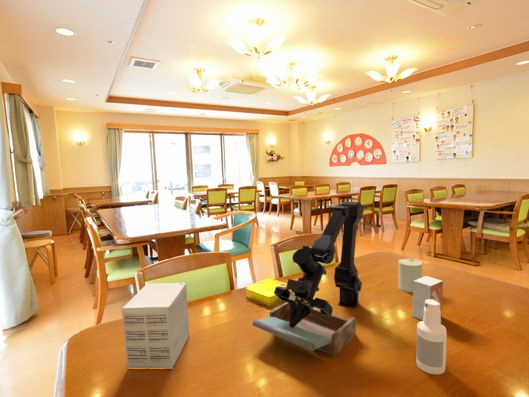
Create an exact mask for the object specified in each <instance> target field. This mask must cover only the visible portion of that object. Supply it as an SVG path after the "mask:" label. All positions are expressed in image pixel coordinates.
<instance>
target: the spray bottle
mask: <svg viewBox="0 0 529 397" xmlns="http://www.w3.org/2000/svg"><path fill="white" fill-rule="evenodd" d="M441 318H442V315H441V311H440V304H439V303H438V302H436V301H435V300H433V299H427V300H425V308H424V316H423V320H421V321H419V322H418V323H417V324H416V325H417V326H416V356H415V358H416V359H415V362H416V366H417V368H419V369H420V370H421V371H423V372H424V373H427V374H430V375H435V376H436V375H442V374H444V373H445V371H446V366H447V365H446V364H447V363H446V362H447V335H448V334H447V328H446V327H445V326H444V325H443V324H441V323H442V319H441Z"/></svg>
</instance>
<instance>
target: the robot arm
mask: <svg viewBox="0 0 529 397" xmlns="http://www.w3.org/2000/svg"><path fill="white" fill-rule="evenodd" d="M364 211H365V208H364V205H362V203H361V202H359V201H348V200H347V201H343V202H342V203H339V204H336V205H335V206H333V207H332V212H331V215H330V217H329V220H328V222H327V224H326V226H325V228H324V230H323V232H322V234H321V235H320V237H319V238H317V239H316V240H314V242H313V244H312V245H311V247H310V246H309V245H305V244H304V245H302V248H298V249H297V250H296V251H295V252H294V253H293V254H292V262H293V263H294V264H295V265H296V266H297V268H298V269H299V270H300V271H301V272H302V273H303V275H302V276H301V277H300V276H299V277H298V278H297V280H295V279H293V278H292V279H291V278H288V279H287V282H286V283H287V287H286V288H283V287H280V286H278V287H276V288H275V290H274V292H273V293H274V294H275V295H276V296H277V297H278V298H279V299H280V300H282V302H284V303H285V302H288V303H289V304H290V322H289V326H290V327H291V328H294V327H295V326H296V325H297V324H298V323H299V322H300V321H301V320H302V319H303V318H305V317H306V316H307V315H309V314H310V313H311V314H313V308H314V309H317V310H320V311H321V314H323V315H326V316H329V317H331V314H333V310H334V309H333V306H332V305H331V304H330V303H329V302H328V301H327V300H326V299H322V298H319V297H315V295H316V293H317V292H320V291H319V290H320V288H319V285H320V283H321V281H322V277H323V276H326V275H327V270H326V266H325V264H326V265H328V264H331V263H332V262H333V261H334V258H335V255H336V246H335V243H336V242H337V239H338V236H339V234H340V233H341V229H342V241H341V255H340V262H339V264H338V265H337V266H335V268H334V276H333V280H334V284H335V287H336V288H339V301H338V303H337V304H338V306H344V307H349V308H356V307H357V305H358V304H359V301H360V292H361V291H362V287H363V286H362V285H363V283H362V281H361V280H360V278H359V276H358V275H359V274H358V273H359V272H358V269H357V267H356V265H355V256H356V255H355V254H356V253H355V252H356V243H357V242H356V238H357V230H358V229H357V228H358V225H359V223H360V222H361V221H362V219H363V215H364ZM322 264H324V265H322ZM289 289H290V290H292V292H293V294H292V293H291V292H290V291H289Z"/></svg>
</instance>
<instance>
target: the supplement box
mask: <svg viewBox="0 0 529 397" xmlns="http://www.w3.org/2000/svg"><path fill="white" fill-rule="evenodd" d="M187 291H188V290H187V283H186V282H169V283H168V282H162V283H161V282H160V283H159V282H157V283H146V284H145V285H144V286H143V287H142V288H141V289H140V290H139V291H138V292H136V294H135V295H134V296H133V297H132V298H131V299H130V300H129V301H128V302H127V303H126V304H125V305H123V307H121V313H122V315H121V316H122V324H123V335H124V346H125V354H126V355H125V356H126V364H127V365H126V366H127V369H128V368H165V369H172V370H173V369H174V367H173V366H175V365H174V364H176V363H177V361H178V358H179V356H180V355H181V353H182V351H183V349H184V346H185V345H186V342H187V341H188V339H189V337H190V326H189V324H190V323H189V310H188V306H189V305H188V294H187V293H188V292H187ZM176 360H177V361H176ZM175 362H176V363H175Z"/></svg>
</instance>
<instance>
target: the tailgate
mask: <svg viewBox="0 0 529 397" xmlns="http://www.w3.org/2000/svg"><path fill="white" fill-rule="evenodd" d="M252 326H253V327H255V328H258V329H260V330H261V331H265V332H267V333H269V334H271V335H273V336H276V337H278V338H280V339H283V340H285V341H287V342H289V343H291V344H294V345H297V346H299V347H301V348H304V349H306V350H308V351H310V352H312V353H313V352H315V351H316V350H318V349H317V348H320V347H322V346H324V345H327V344H329V343H330V338H327V337H324V336H322V335H319V334H317V333H314V332H312V331H309V330H306V329H304V328H301V327H299V326H295V327H294V328H291V327H290V326H289V323H288V322H286V321H283V320H281V319H278V318H276V317H270V316H269V317H265V318H261V319H257V318H256V319H254V320H253V321H252Z"/></svg>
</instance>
